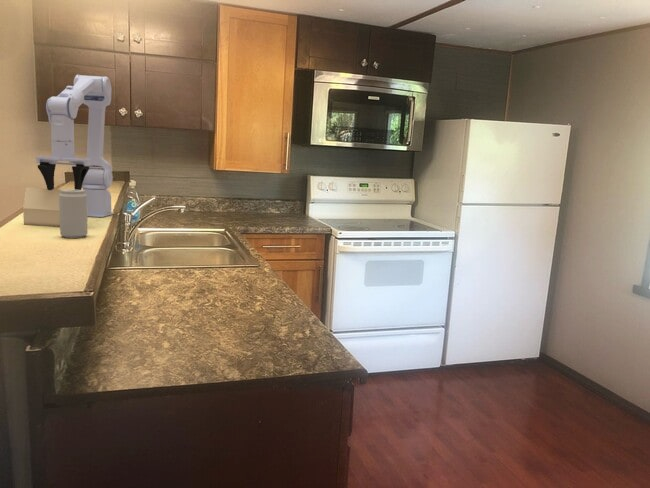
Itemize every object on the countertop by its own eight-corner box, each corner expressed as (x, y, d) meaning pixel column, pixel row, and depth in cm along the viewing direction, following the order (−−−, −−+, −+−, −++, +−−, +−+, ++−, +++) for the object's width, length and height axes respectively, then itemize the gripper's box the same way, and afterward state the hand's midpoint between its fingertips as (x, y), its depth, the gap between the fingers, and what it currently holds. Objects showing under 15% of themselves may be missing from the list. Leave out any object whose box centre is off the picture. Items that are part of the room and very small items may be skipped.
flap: (26, 187, 154) (26, 187, 154) (63, 189, 154) (62, 189, 153) (23, 208, 153) (23, 208, 153) (60, 210, 153) (60, 210, 153)
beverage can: (92, 235, 144) (91, 189, 141) (79, 239, 137) (77, 191, 135) (69, 233, 144) (67, 188, 142) (55, 237, 138) (53, 190, 136)
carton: (35, 221, 160) (35, 206, 159) (72, 223, 160) (72, 208, 159) (23, 224, 154) (23, 208, 153) (62, 226, 154) (61, 211, 153)
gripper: (28, 139, 147) (30, 190, 149) (81, 143, 146) (82, 193, 149) (43, 140, 154) (45, 188, 156) (93, 143, 153) (94, 191, 156)
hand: (64, 190), depth 153 cm, fingers open, 7 cm apart
